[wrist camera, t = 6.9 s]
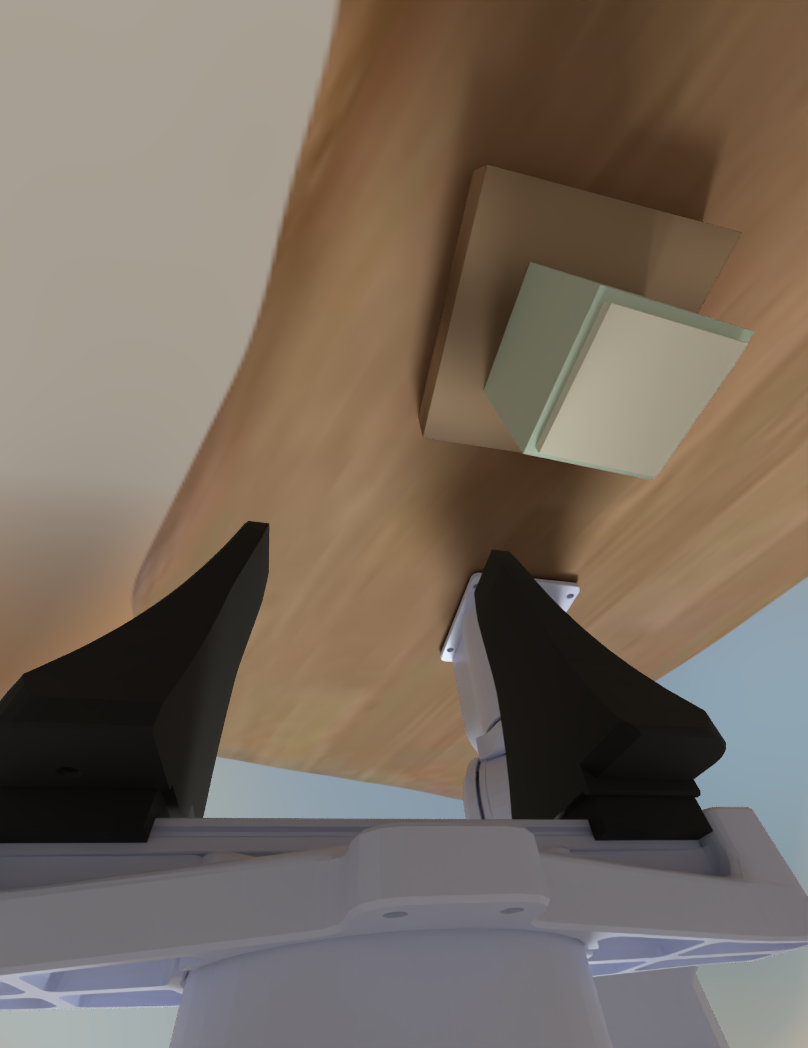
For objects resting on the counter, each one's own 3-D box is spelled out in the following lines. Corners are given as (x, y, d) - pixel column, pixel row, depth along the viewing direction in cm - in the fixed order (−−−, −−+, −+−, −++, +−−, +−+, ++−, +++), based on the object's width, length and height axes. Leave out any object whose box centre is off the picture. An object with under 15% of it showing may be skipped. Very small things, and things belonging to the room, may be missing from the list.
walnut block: (589, 441, 24) (613, 466, 21) (417, 413, 22) (422, 437, 20) (692, 229, 18) (741, 232, 16) (470, 171, 16) (487, 164, 14)
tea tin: (583, 413, 20) (658, 486, 14) (483, 390, 19) (526, 459, 13) (644, 296, 17) (765, 335, 12) (530, 261, 16) (607, 286, 11)
